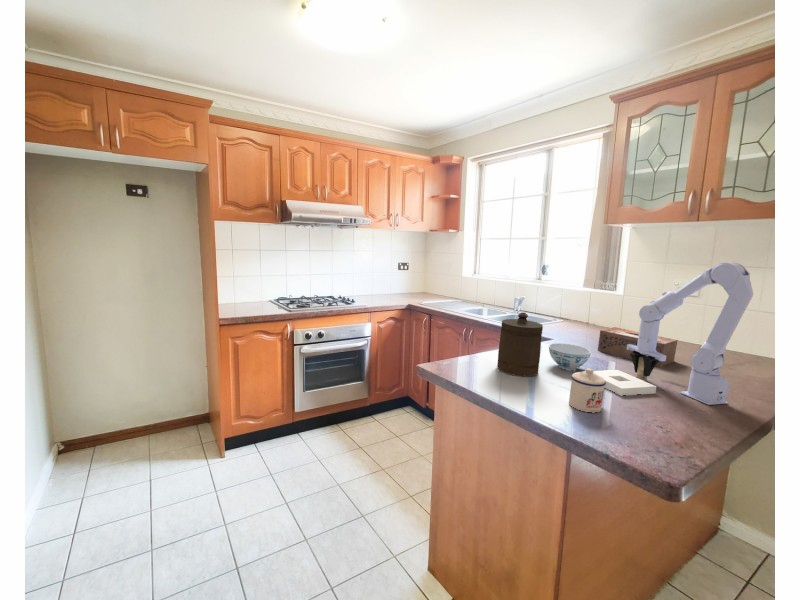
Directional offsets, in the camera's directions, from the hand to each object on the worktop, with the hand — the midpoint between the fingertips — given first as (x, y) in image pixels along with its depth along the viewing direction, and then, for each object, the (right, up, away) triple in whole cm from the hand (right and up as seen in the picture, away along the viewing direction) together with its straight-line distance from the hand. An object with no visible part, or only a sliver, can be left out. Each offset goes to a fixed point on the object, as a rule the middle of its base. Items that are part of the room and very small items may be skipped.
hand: (642, 374), depth 137 cm
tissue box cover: (+17, +2, +31) cm, 35 cm away
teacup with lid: (-33, -5, -25) cm, 42 cm away
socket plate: (-13, -3, -7) cm, 15 cm away
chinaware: (-23, 0, +10) cm, 25 cm away
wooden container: (-44, +1, +4) cm, 45 cm away
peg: (0, -2, 0) cm, 2 cm away
